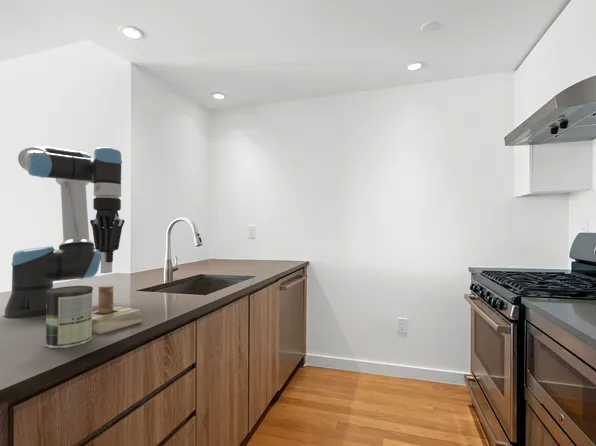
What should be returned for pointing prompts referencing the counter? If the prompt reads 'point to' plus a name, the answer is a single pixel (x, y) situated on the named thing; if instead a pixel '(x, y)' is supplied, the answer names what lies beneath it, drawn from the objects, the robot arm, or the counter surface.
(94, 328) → the maple block
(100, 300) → the oak peg
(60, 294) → the coffee can
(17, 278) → the robot arm
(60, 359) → the counter surface
